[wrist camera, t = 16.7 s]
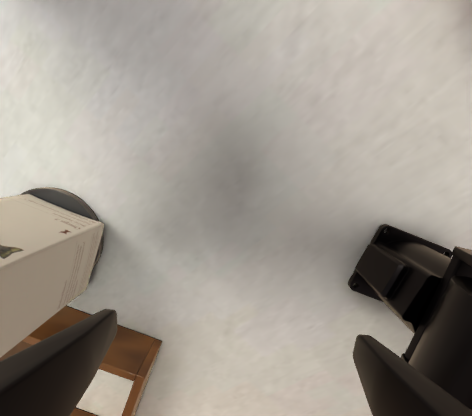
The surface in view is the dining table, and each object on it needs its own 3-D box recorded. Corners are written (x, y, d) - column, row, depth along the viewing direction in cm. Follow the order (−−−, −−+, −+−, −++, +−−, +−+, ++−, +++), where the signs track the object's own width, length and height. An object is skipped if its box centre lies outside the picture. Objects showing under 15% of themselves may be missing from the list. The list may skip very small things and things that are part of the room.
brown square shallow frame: (162, 340, 23) (145, 378, 19) (128, 431, 26) (107, 479, 22) (36, 294, 22) (-9, 322, 19) (16, 391, 25) (-26, 434, 22)
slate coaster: (114, 208, 20) (110, 210, 20) (91, 291, 22) (87, 294, 21) (18, 172, 20) (11, 172, 19) (4, 258, 22) (-3, 261, 21)
